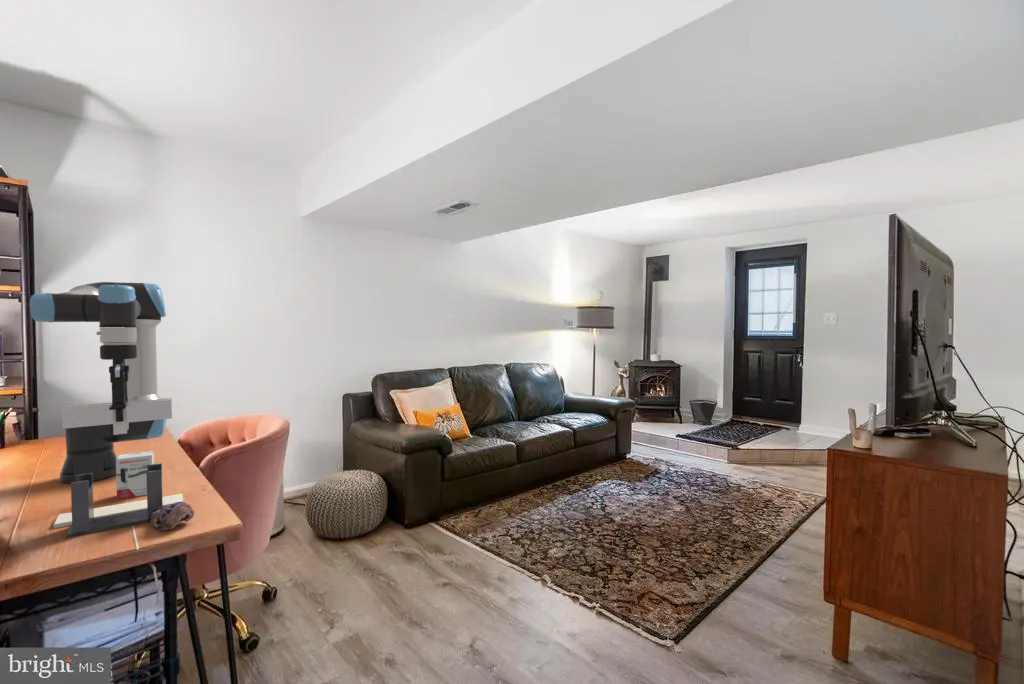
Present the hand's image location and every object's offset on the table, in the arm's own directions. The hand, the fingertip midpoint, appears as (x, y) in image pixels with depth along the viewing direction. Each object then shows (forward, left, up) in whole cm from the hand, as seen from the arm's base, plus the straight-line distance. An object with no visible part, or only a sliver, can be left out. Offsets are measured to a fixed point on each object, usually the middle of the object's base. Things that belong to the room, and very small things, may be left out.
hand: (121, 431), depth 127 cm
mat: (0, 0, -21) cm, 21 cm away
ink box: (-15, +2, -21) cm, 26 cm away
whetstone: (0, 0, +3) cm, 3 cm away
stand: (+9, 0, -21) cm, 23 cm away
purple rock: (+18, +10, -22) cm, 30 cm away
